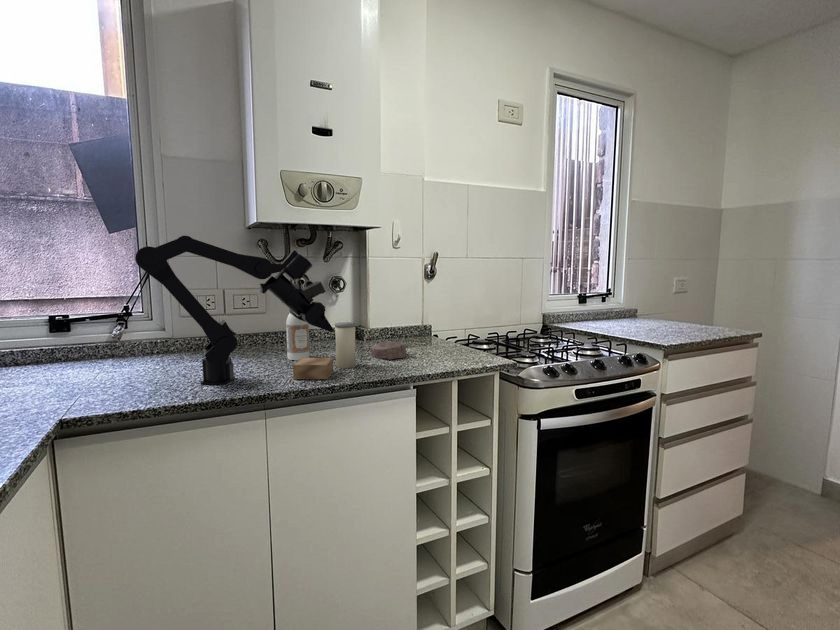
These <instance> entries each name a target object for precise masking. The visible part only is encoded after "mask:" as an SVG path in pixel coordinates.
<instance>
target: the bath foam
mask: <svg viewBox="0 0 840 630" xmlns="http://www.w3.org/2000/svg"><path fill="white" fill-rule="evenodd" d="M297 316H298V315H297ZM285 325H286V328H285V330H286V332H285V333H286V352H287V353H286V354H287V359H288V360H289V361H292V360H294V362H295V361H296V362H297V361H299V360H300V359H301V358H311V357H310V356H311V355H310V324H308V323H307V322H305V321H302V320H299V319H297V318H296V317H294V316H293V315H292V314H290V312H289V314H288V316H287V318H286V323H285Z"/></svg>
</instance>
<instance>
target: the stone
mask: <svg viewBox="0 0 840 630" xmlns="http://www.w3.org/2000/svg"><path fill="white" fill-rule="evenodd" d="M369 349H370V354H371V355H370V356H372V357H373V358H376V359H384V360H389V361H391V360H396V359H405V358H406V355H407V352H408V351H407V349H406V344H403V343H400V342H398V341H382V342H378V343H375V344H373V345H372V346H370V347H369Z"/></svg>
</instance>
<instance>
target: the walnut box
mask: <svg viewBox="0 0 840 630" xmlns="http://www.w3.org/2000/svg"><path fill="white" fill-rule="evenodd" d="M292 371H293V373H292V374H293V376H292V377H293V380H294V379H327V380H329V378H330V377H331V376H332V374H333V373H334V372H335V371H334V357H309V358H301V359H300V360H299V361H296V362H295V363H294V364H293V365H292ZM332 372H333V373H332ZM329 376H330V377H329ZM328 377H329V378H328Z"/></svg>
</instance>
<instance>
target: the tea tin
mask: <svg viewBox="0 0 840 630" xmlns="http://www.w3.org/2000/svg"><path fill="white" fill-rule="evenodd" d="M334 328H335V330H334V331H335V367H336V368H337V367H338V368H337V369H351V368H355V367H356V366H357V365H356V323H355V322H350V321H349V322H348V321H343V322H335V323H334Z"/></svg>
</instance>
